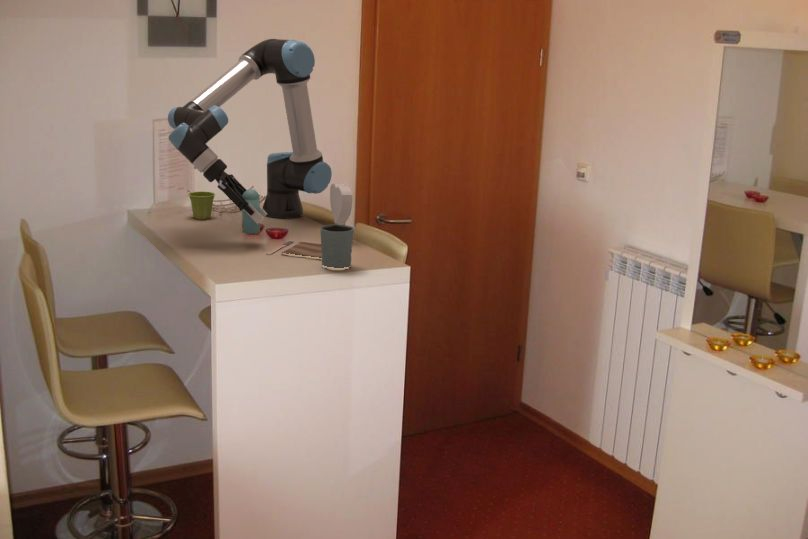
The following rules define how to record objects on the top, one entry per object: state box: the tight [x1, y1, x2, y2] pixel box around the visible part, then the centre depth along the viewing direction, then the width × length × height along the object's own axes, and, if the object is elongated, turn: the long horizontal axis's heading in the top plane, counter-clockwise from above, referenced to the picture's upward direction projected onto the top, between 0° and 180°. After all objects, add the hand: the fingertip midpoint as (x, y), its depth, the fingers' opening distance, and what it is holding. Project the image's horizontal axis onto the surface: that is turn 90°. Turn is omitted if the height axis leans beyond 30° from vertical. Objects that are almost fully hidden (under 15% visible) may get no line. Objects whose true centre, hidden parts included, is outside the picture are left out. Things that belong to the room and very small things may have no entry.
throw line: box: [282, 240, 294, 246], centre depth 296 cm, size 18×2×1 cm, turn 163°
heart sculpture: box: [329, 183, 353, 225], centre depth 311 cm, size 16×5×18 cm, turn 19°
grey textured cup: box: [319, 224, 355, 268], centre depth 276 cm, size 10×10×12 cm
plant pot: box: [187, 191, 216, 220], centre depth 332 cm, size 9×9×9 cm
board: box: [281, 241, 322, 258], centre depth 293 cm, size 16×14×1 cm
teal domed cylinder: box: [241, 188, 261, 235], centre depth 296 cm, size 6×6×14 cm
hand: (262, 218), depth 296 cm, fingers closed on teal domed cylinder, 5 cm apart
